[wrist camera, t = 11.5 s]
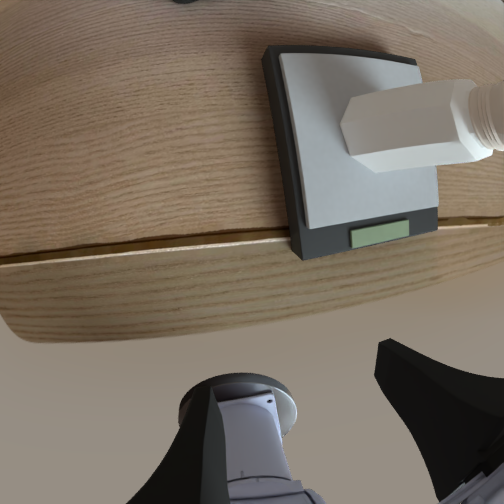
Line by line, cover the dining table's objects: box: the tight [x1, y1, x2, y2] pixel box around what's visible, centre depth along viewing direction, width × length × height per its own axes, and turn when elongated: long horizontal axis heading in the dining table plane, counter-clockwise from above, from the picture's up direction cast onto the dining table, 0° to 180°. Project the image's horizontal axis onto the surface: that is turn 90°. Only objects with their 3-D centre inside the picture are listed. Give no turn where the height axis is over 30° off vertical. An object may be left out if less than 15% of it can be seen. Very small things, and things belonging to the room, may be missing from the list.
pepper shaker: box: [340, 79, 504, 173], centre depth 10 cm, size 5×5×11 cm
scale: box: [261, 45, 438, 260], centre depth 17 cm, size 14×12×3 cm
